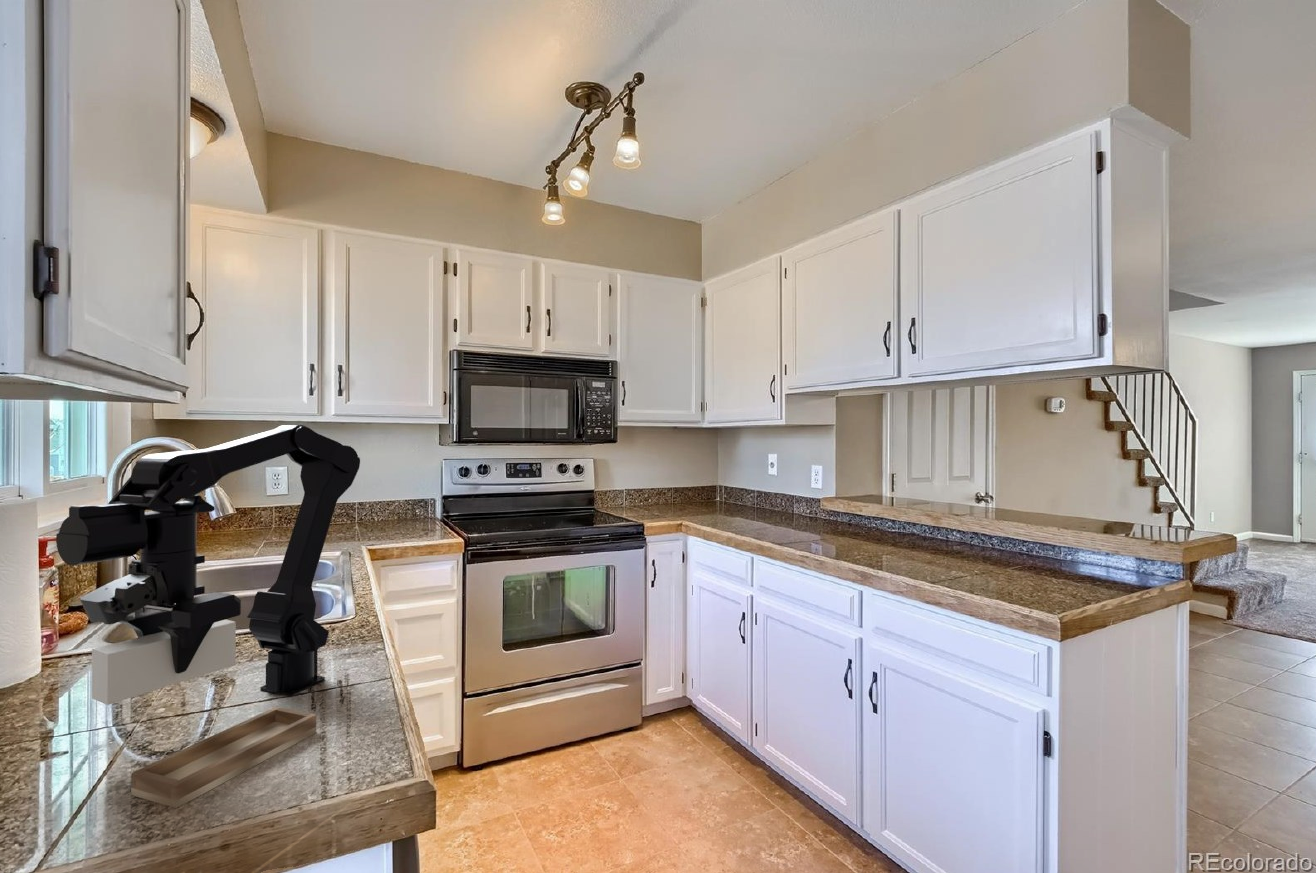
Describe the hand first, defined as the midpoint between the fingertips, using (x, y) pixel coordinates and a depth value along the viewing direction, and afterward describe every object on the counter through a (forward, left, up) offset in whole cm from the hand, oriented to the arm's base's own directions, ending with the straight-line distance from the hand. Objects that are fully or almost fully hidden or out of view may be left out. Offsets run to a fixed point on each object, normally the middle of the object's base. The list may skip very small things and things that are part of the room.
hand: (168, 670), depth 78 cm
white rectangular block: (0, 0, -1) cm, 1 cm away
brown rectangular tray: (+1, +13, -9) cm, 16 cm away
